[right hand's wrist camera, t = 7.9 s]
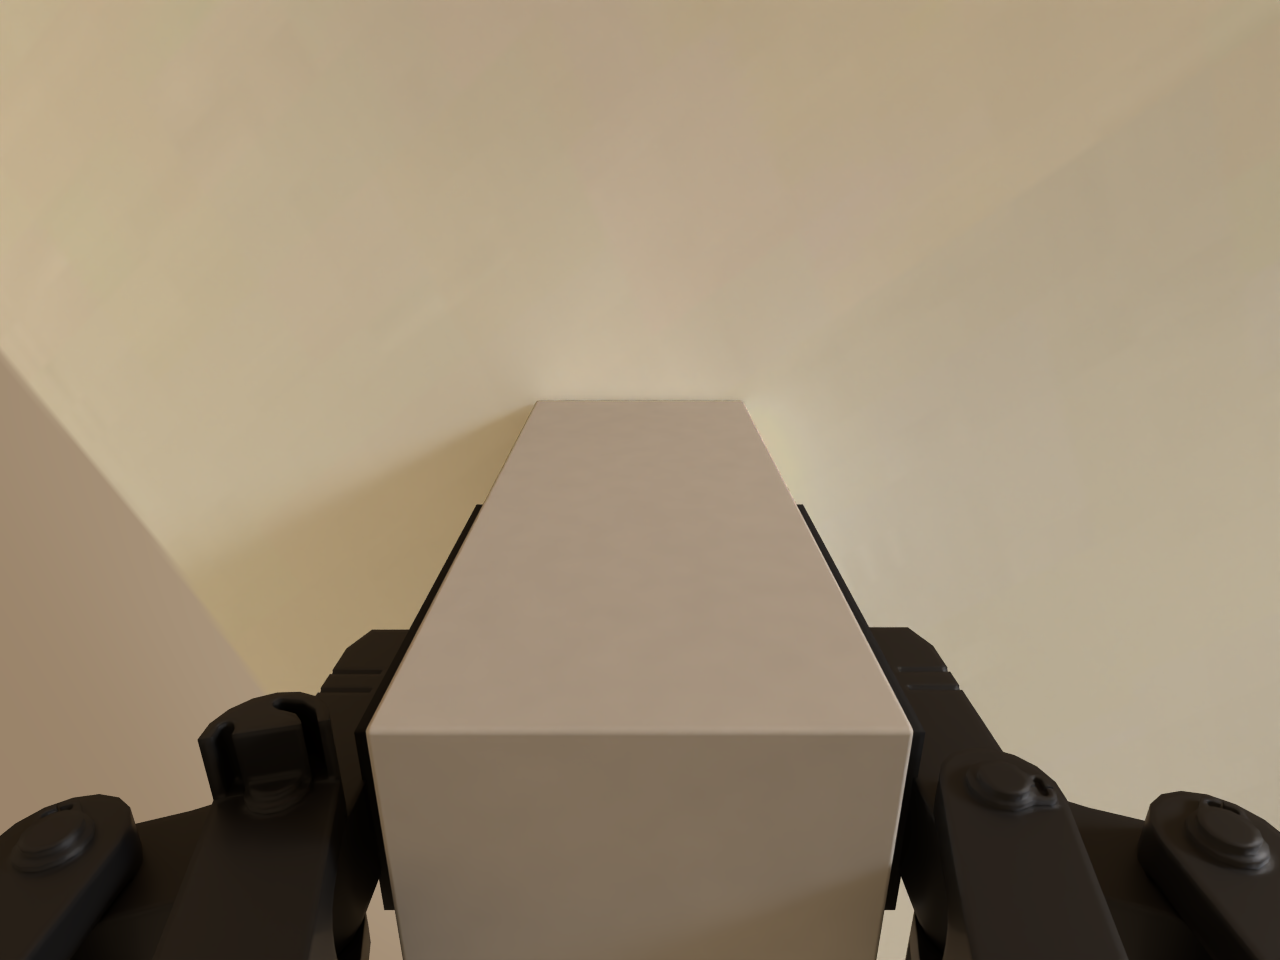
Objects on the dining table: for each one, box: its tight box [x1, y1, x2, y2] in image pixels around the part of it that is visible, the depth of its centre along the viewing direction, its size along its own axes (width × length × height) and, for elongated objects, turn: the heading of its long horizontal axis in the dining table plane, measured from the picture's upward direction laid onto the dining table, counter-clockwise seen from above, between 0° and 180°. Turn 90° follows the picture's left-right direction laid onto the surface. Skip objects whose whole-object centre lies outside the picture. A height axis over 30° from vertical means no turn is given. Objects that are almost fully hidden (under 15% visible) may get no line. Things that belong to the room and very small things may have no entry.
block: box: [366, 401, 913, 960], centre depth 13 cm, size 5×5×11 cm
